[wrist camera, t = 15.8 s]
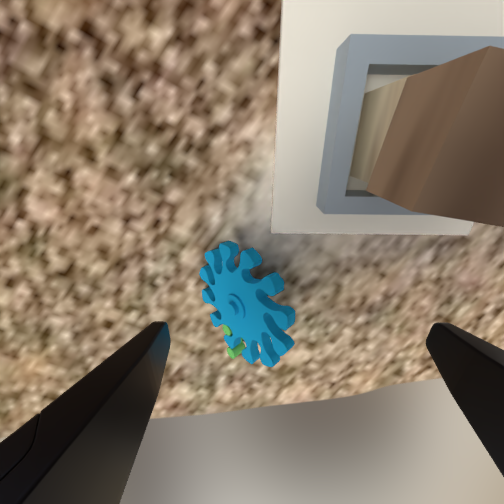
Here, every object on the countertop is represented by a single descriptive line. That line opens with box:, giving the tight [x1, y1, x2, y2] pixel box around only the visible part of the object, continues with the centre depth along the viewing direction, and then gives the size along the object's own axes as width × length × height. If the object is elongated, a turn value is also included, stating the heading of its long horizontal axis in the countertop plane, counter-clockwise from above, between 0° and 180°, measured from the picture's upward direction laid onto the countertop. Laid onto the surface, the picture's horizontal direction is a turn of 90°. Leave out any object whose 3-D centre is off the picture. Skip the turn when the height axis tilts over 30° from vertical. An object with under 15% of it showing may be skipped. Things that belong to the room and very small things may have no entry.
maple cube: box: [350, 74, 415, 183], centre depth 14 cm, size 5×5×5 cm
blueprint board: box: [271, 0, 504, 235], centre depth 15 cm, size 16×14×3 cm
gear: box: [199, 241, 295, 367], centre depth 20 cm, size 11×6×10 cm
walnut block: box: [366, 46, 504, 227], centre depth 10 cm, size 5×5×4 cm
